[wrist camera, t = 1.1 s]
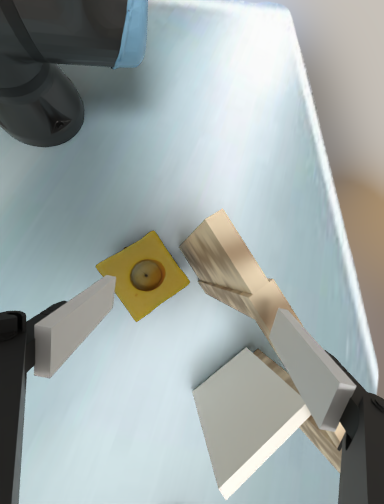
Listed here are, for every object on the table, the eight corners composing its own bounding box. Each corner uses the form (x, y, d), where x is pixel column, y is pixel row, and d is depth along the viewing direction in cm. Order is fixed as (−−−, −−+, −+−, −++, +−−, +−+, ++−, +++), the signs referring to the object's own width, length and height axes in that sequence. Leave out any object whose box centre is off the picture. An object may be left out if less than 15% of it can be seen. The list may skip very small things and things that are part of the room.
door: (246, 347, 38) (307, 401, 23) (253, 358, 38) (319, 421, 23) (192, 391, 36) (218, 488, 20) (200, 403, 36) (232, 510, 20)
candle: (109, 266, 36) (91, 265, 26) (154, 237, 38) (153, 226, 28) (140, 309, 36) (133, 325, 26) (183, 279, 38) (191, 282, 28)
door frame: (290, 399, 40) (448, 557, 18) (280, 409, 39) (431, 584, 17) (188, 240, 39) (227, 205, 17) (176, 248, 38) (200, 222, 16)
